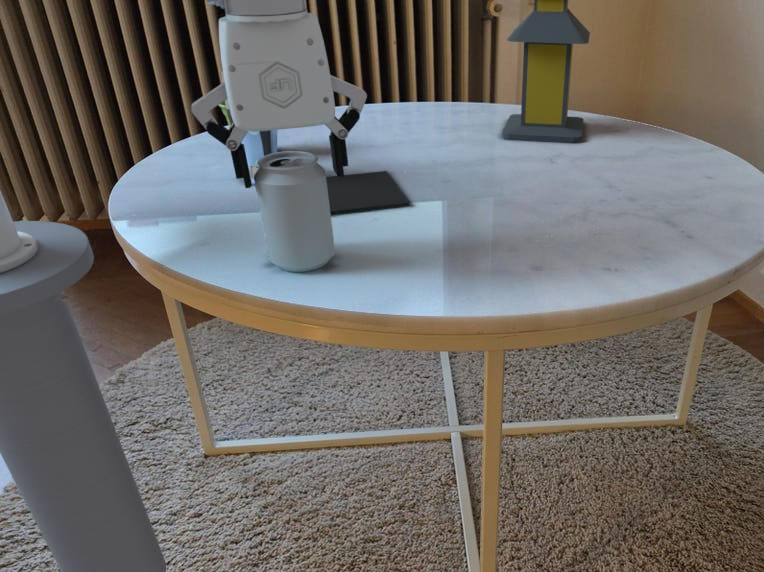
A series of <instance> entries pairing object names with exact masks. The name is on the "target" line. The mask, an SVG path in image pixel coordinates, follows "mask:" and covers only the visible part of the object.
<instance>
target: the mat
mask: <svg viewBox="0 0 764 572" xmlns="http://www.w3.org/2000/svg"><path fill="white" fill-rule="evenodd" d="M326 181H327V189H328V198H329V206H330V214H331V216H334V215H341V214H349V213H359V212H366V211H368V212H369V211H376V210H383V209H393V208H401V207H409V206H410V202H409V200H408V199H407V197H406V196H405V195H404V193H403V192H402V191H401V189H400V187H399V186H398V185H397V183H396V182H395V181H394V179H393V178H392V176H391V175H390V174H389V172H388V171H387V170H381V171H380V170H379V171H373V172H372V171H371V172H361V173H351V174H344V177H339V176H337V175H331V176H326Z"/></svg>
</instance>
